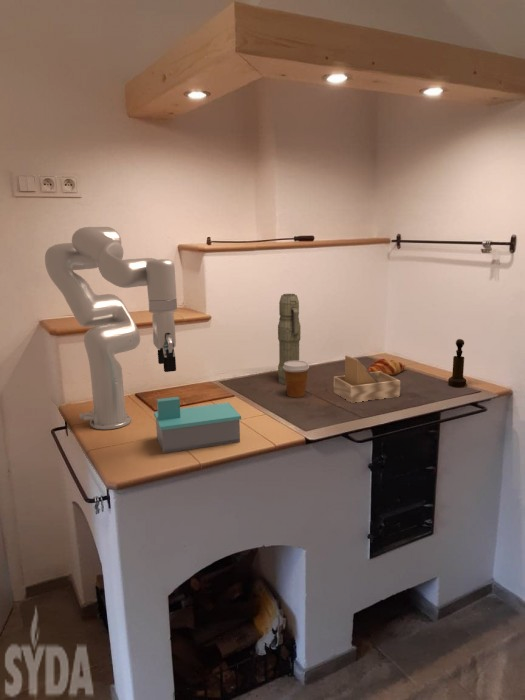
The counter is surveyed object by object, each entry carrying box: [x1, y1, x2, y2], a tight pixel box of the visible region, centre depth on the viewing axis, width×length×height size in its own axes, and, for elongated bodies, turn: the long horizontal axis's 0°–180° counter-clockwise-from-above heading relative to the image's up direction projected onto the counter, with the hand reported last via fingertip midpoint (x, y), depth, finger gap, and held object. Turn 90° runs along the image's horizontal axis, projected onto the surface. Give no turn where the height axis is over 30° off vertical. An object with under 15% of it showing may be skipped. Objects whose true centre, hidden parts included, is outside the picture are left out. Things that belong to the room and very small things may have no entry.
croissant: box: [366, 358, 407, 377], centre depth 220 cm, size 21×10×8 cm, turn 119°
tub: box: [155, 420, 241, 455], centre depth 154 cm, size 22×12×7 cm, turn 109°
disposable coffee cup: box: [283, 360, 310, 398], centre depth 193 cm, size 10×10×12 cm
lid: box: [153, 396, 242, 430], centre depth 152 cm, size 23×13×8 cm, turn 109°
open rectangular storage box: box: [333, 371, 401, 404], centre depth 193 cm, size 20×14×6 cm
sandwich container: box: [344, 354, 380, 386], centre depth 192 cm, size 9×15×15 cm, turn 112°
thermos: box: [277, 293, 301, 386], centre depth 206 cm, size 9×12×35 cm
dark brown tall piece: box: [447, 338, 467, 388], centre depth 201 cm, size 7×6×18 cm
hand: (167, 367), depth 146 cm, fingers open, 9 cm apart
